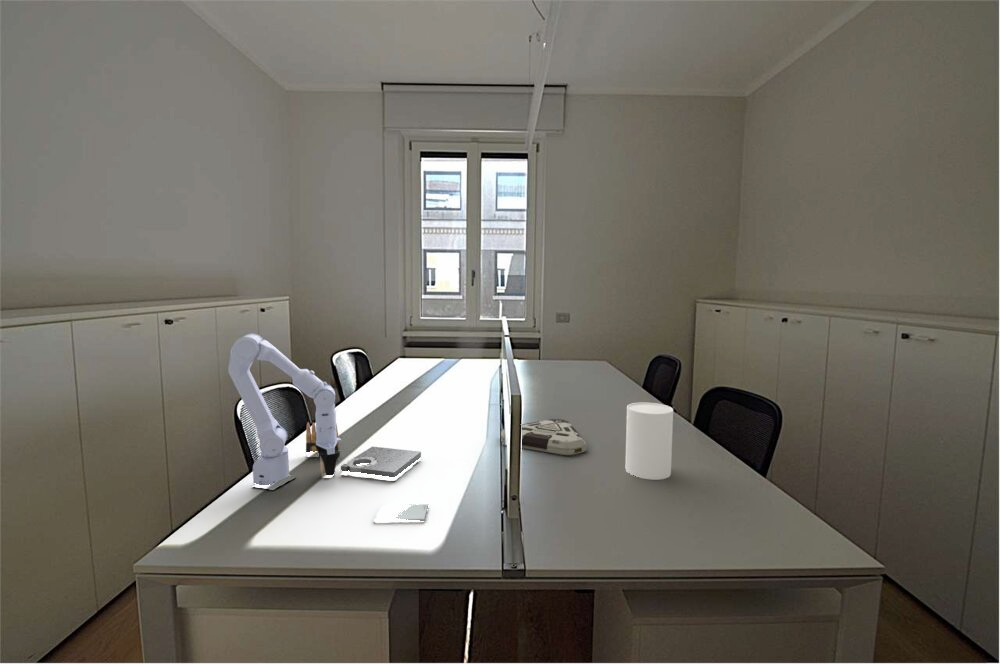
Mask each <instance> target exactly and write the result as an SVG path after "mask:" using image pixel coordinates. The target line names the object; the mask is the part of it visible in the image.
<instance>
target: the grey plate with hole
mask: <svg viewBox="0 0 1000 664" xmlns="http://www.w3.org/2000/svg"><path fill="white" fill-rule="evenodd" d="M420 457H421V458H422V452H421V451H418V450H407V449H399V448H390V447H381V446H371V447H369V448H368V449H366V450H364V451H363V452H361V453H359V454H358V455H356V456H354V457H353V458H351V459H350V460H348V461H347V462H346V463H343V464H342V465H340V471H341V470H342V471H348V470H349V471H350V472H361V473H367V474H375V475H382V476H389V477H395V476H397V475H398V474H399V473H401V472H402V471H403V470H404V469H406V468H407V467H408V466H410V465H411V464H412V463H414V462H415V461H416V460H418V459H419V458H420ZM360 463H369V464H367V465H362V466H357V465H356V464H360Z"/></svg>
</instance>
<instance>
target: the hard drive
mask: <svg viewBox="0 0 1000 664" xmlns="http://www.w3.org/2000/svg"><path fill="white" fill-rule="evenodd" d="M418 504H419V503H418ZM410 505H411V507H409V508H408V509H407V510H406V511H405V510H404V511H403V512H402V513H401V512H400V513H401V514H402V515H401V514H400V513H399V514H400V515H399V514H398V517H396V518H398V519H399V518H400V519H406V520H407V519H408V520H420V521H425V522H426V520H425V518H426V519H427V516H426V514H427V515H428V512H427V509H428V510H429V508H428V505H429V504H428V503H426V504H421V503H420V504H419V505H416V504H410ZM412 505H413V506H412Z"/></svg>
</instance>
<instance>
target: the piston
mask: <svg viewBox="0 0 1000 664" xmlns="http://www.w3.org/2000/svg"><path fill="white" fill-rule="evenodd" d="M319 462H320V474H321V473H326V472H325V468H324V463H323V460H322V458H321V456H320V457H319Z"/></svg>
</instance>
